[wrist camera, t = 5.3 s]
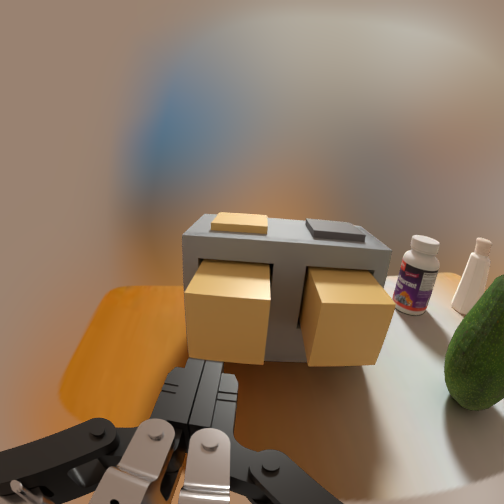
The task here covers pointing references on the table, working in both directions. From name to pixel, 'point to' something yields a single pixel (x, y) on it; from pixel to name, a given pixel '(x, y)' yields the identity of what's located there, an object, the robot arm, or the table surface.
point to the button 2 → (343, 316)
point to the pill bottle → (417, 276)
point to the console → (283, 262)
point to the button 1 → (228, 311)
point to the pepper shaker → (473, 278)
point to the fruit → (478, 353)
